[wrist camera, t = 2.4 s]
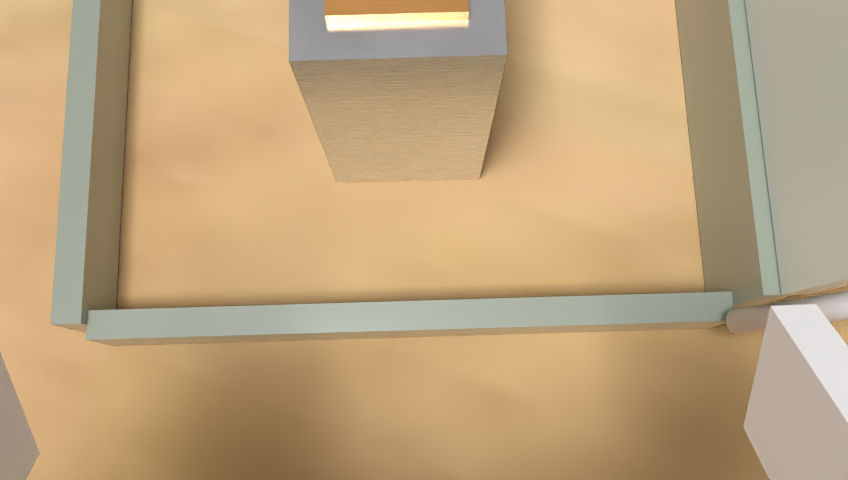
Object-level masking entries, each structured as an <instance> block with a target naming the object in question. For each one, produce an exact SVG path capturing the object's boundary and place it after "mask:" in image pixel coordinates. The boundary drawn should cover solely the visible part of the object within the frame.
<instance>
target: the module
mask: <svg viewBox="0 0 848 480" xmlns="http://www.w3.org/2000/svg"><path fill="white" fill-rule="evenodd" d="M506 59H507V37H506V19H505V1H504V0H289V63H290V65H291V68H292V70H293V73H294V75H295V78H296V80H297V83H298V86H299V88H300V91H301V93H302V96H303V98H304V101H305V103H306V106H307V108H308V111H309V114H310V116H311V119H312V121H313V124H314V126H315V129H316V131H317V134H318V137H319V139H320V142H321V144H322V147H323V149H324V152H325V154H326V157H327V159H328V162H329V165H330V167H331V170H332V172H333V175H334V177H335V180H336V182H337V183H366V182H401V181H435V180H469V179H480V174H481V170H482V165H483V161H484V156H485V152H486V148H487V143H488V139H489V134H490V130H491V125H492V121H493V117H494V112H495V108H496V103H497V99H498V94H499V90H500V86H501V81H502V77H503V72H504V68H505V64H506Z"/></svg>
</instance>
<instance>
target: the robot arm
mask: <svg viewBox="0 0 848 480" xmlns="http://www.w3.org/2000/svg"><path fill="white" fill-rule="evenodd" d="M743 428H744V430H745V432H746V434H747V436H748V438H749V440H750V442H751V444H752V446H753V448H754V450H755V452H756V454H757V456H758V458H759V460H760V462H761V464H762V466H763V468H764V470H765V472H766V474H767V476H768V478H769V480H848V346H847V345H846V343H845V342H844V341H843V339H842V338H841V337H840V335H839V334H838V333H837V331H836V330H835V329H834V327H833V326H832V325H831V323H830V322H829V321H828V319H827V318H826V317H825V315H824V314H823V313H822V311H821V310H820V309H819V307H818V306H817V305H816V304H807V305H781V306H770V310H769V315H768V319H767V324H766V328H765V332H764V337H763V341H762V346H761V350H760V355H759V359H758V364H757V368H756V372H755V377H754V381H753V386H752V390H751V395H750V399H749V404H748V408H747V412H746V417H745V421H744V426H743ZM39 454H40V452H39V450H38V447H37V445H36V442H35V440H34V437H33V434H32V432H31V429H30V427H29V424H28V422H27V419H26V417H25V414H24V412H23V409H22V406H21V404H20V401H19V399H18V396H17V394H16V391H15V389H14V386H13V383H12V381H11V378H10V376H9V373H8V371H7V368H6V366H5V363H4V361H3V358H2V355H1V353H0V480H26V478H27V476H28V474H29V472H30V470H31V469H32V467H33V465H34V463H35V461H36V459H37V457H38V456H39Z"/></svg>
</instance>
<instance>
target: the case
mask: <svg viewBox="0 0 848 480" xmlns="http://www.w3.org/2000/svg"><path fill="white" fill-rule="evenodd" d="M675 4H676V14H677V24H678V33H679V43H680V52H681V62H682V71H683V81H684V90H685V100H686V110H687V119H688V129H689V138H690V148H691V157H692V167H693V177H694V186H695V196H696V205H697V215H698V224H699V234H700V244H701V253H702V263H703V272H704V282H705V291H706V292H696V293H662V294H628V295H594V296H560V297H526V298H492V299H458V300H424V301H390V302H356V303H322V304H289V305H255V306H221V307H187V308H153V309H119V310H116V302H117V283H118V264H119V245H120V225H121V206H122V187H123V168H124V149H125V130H126V111H127V91H128V72H129V53H130V34H131V15H132V0H73V10H72V24H71V39H70V53H69V68H68V82H67V97H66V111H65V125H64V140H63V154H62V169H61V183H60V198H59V212H58V227H57V241H56V255H55V270H54V284H53V299H52V313H51V325H56V326H60V327H64V328H68V329H73V330H77V331H81V332H85V333H86V340H89V341H94V342H99V343H103V344H108V345H113V346H126V345H160V344H194V343H228V342H261V341H295V340H329V339H363V338H397V337H430V336H464V335H498V334H532V333H565V332H599V331H633V330H667V329H700V328H712V327H715V326H719V325H722V324H725V323H726V326H727V328H728V329H729V331H730V332H731V333H733V334H741V333H749V332H757V331H764V330H765V328H766V324H767V319H768V315H769V310H770V306H781V305H807V304H816V305H817V306H818V307H819V309H820V310H821V311H822V313H823V314H824V315H825V317H826V318H827V319H828V321H829V322H833V321H841V320H848V291H845V292H839V293H833V294H827V295H821V296H815V297H809V298H803V299H796V300H790V301H784V302H778V303H772V304H768V303H771V302H774V301H777V300H780V299H783V298H786V297H789V296H793V295H810V294H815V293H819V292H824V291H828V290H833V289H837V288H842V287H846V286H848V0H675ZM764 304H766V305H764Z"/></svg>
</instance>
